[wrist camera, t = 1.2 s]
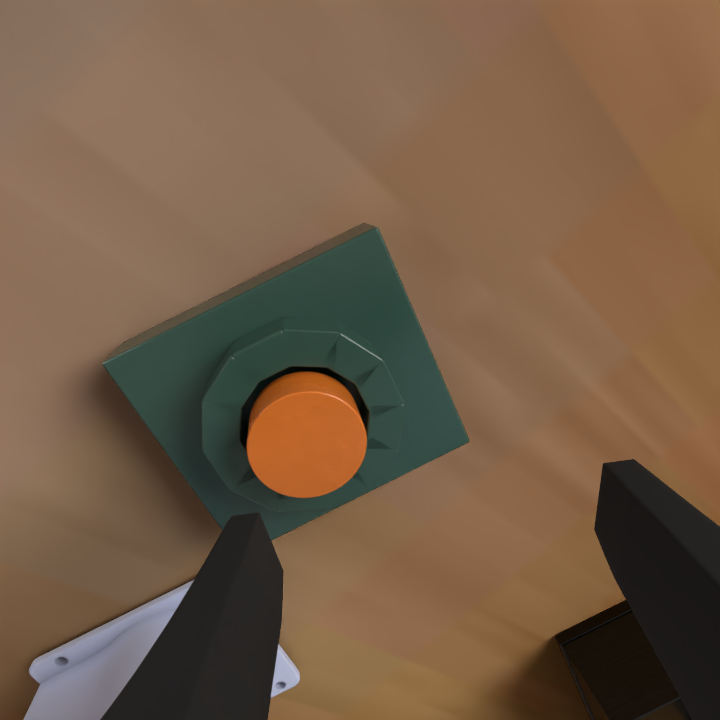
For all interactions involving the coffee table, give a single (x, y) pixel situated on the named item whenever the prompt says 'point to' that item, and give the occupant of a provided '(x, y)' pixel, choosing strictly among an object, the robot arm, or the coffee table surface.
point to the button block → (285, 356)
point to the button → (305, 435)
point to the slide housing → (619, 669)
